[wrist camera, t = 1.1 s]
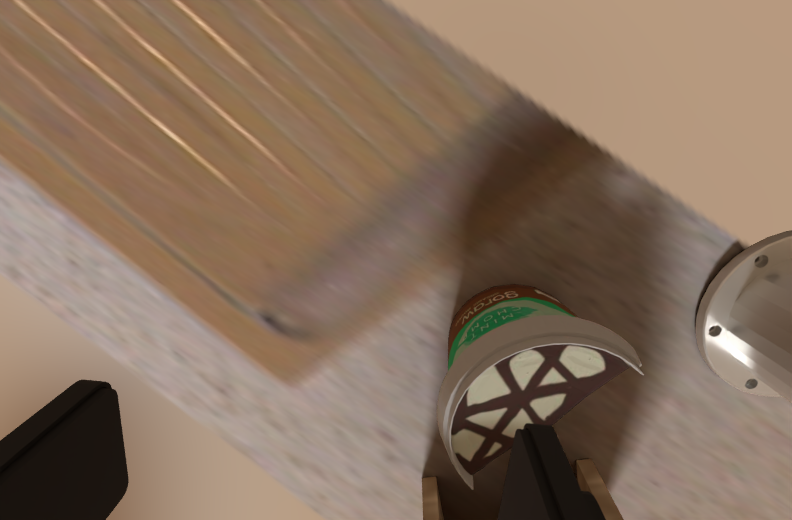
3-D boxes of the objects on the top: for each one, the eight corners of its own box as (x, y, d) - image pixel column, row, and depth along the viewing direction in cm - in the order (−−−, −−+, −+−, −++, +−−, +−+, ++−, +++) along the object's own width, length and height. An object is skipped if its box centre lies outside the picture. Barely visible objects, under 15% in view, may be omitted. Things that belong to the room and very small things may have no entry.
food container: (527, 232, 30) (581, 284, 21) (580, 293, 32) (653, 368, 22) (396, 338, 33) (391, 427, 24) (450, 391, 34) (465, 495, 25)
